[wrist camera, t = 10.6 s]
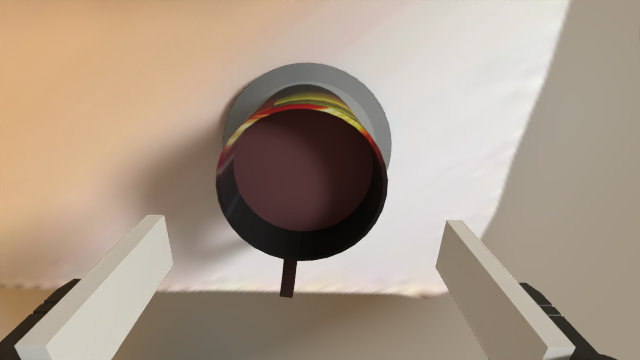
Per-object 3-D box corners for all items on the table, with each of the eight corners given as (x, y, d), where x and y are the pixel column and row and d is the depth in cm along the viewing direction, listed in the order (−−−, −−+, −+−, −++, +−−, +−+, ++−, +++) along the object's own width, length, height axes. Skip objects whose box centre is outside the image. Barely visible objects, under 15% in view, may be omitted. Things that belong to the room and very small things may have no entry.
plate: (219, 59, 26) (214, 59, 25) (398, 66, 27) (402, 66, 26) (232, 218, 32) (229, 224, 31) (379, 221, 33) (381, 227, 32)
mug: (289, 231, 32) (279, 324, 21) (236, 104, 27) (183, 137, 16) (378, 204, 31) (416, 287, 20) (340, 68, 26) (363, 76, 15)
